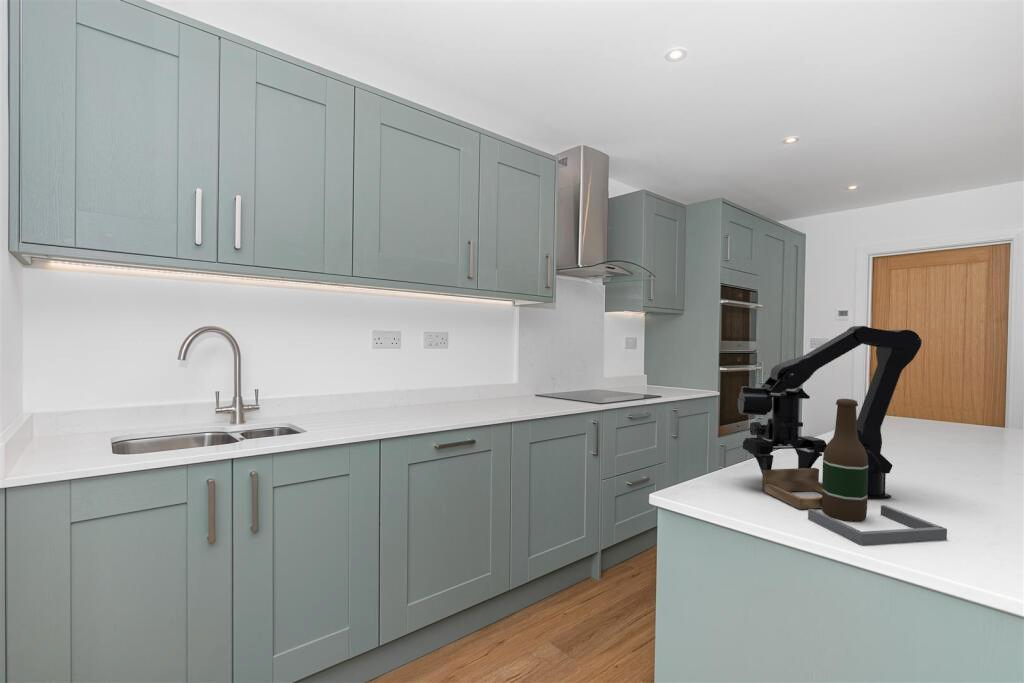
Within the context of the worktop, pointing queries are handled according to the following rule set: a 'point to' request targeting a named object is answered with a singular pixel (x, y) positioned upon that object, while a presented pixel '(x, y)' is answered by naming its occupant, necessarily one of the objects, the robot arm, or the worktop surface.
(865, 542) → the tray bay
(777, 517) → the worktop surface
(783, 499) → the brown wooden frame
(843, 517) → the beer bottle
